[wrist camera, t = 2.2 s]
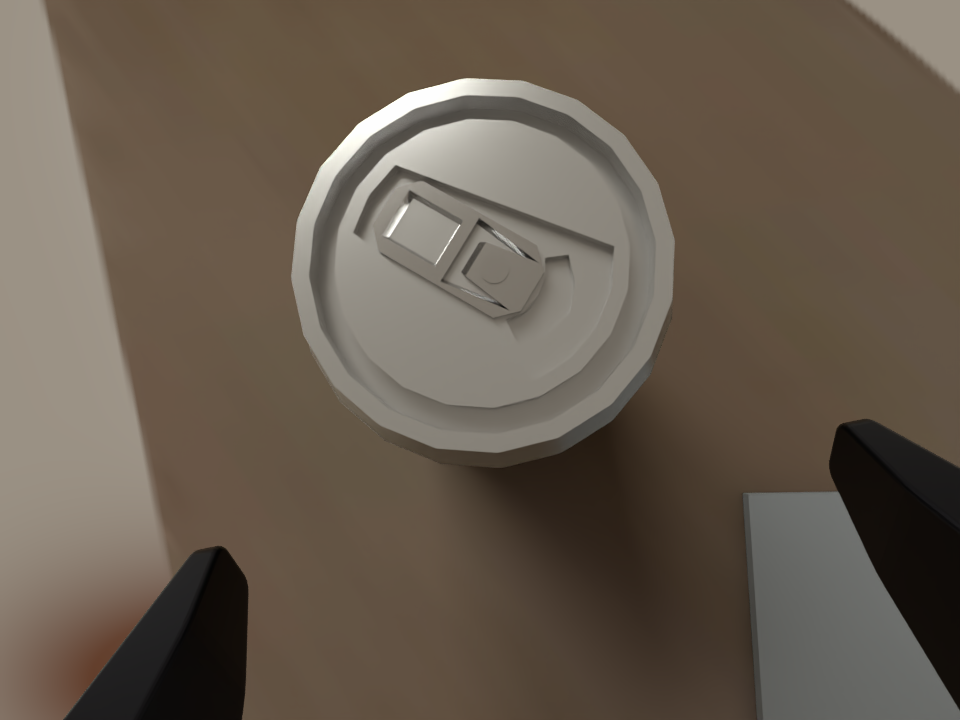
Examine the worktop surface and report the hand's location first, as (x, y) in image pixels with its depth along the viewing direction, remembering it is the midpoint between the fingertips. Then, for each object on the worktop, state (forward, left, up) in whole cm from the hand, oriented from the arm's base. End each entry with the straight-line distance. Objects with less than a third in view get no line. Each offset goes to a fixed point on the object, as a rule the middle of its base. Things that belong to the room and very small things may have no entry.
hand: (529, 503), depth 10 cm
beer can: (+3, +1, -11) cm, 11 cm away
